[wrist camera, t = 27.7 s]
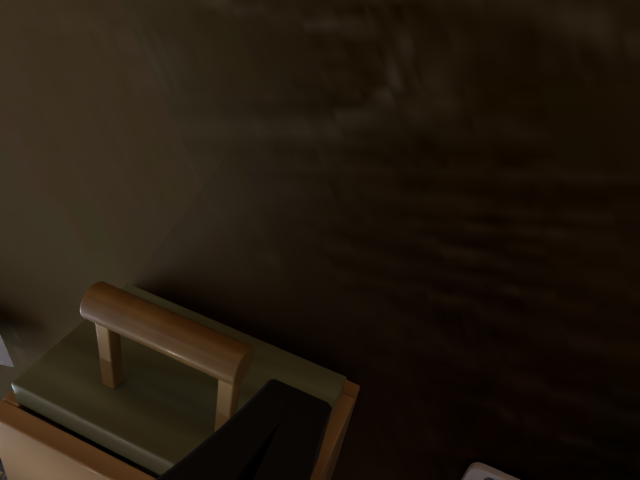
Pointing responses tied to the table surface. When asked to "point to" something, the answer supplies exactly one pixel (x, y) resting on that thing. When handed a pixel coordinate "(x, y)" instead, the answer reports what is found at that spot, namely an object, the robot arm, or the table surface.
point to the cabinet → (103, 469)
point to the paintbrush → (4, 355)
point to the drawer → (156, 377)
